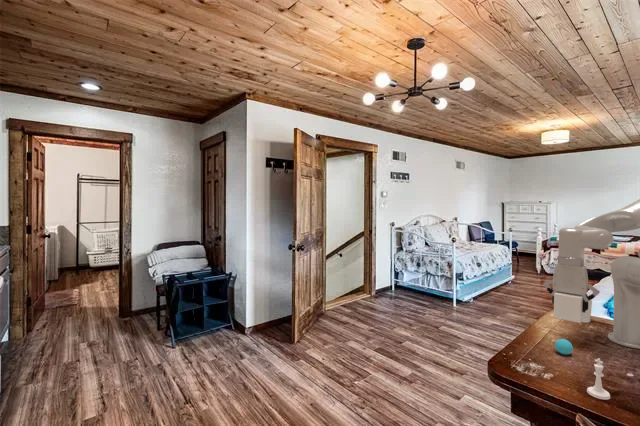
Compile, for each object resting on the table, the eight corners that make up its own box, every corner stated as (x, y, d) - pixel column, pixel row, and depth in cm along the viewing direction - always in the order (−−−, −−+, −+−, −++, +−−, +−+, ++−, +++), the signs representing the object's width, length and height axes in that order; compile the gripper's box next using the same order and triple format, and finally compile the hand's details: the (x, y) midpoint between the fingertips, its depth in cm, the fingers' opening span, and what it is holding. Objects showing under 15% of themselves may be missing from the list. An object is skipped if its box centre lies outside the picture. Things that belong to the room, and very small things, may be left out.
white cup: (596, 323, 139) (596, 300, 139) (574, 322, 141) (575, 299, 140) (585, 317, 147) (585, 295, 146) (565, 316, 148) (565, 294, 148)
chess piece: (603, 401, 87) (604, 364, 87) (582, 391, 92) (583, 356, 91) (614, 396, 89) (614, 360, 89) (593, 387, 94) (593, 352, 93)
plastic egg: (562, 349, 117) (562, 335, 116) (576, 356, 112) (576, 341, 112) (551, 351, 116) (551, 337, 115) (564, 358, 111) (564, 343, 111)
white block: (559, 310, 128) (560, 288, 128) (585, 315, 122) (585, 292, 122) (553, 317, 121) (554, 293, 121) (580, 323, 115) (581, 298, 115)
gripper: (540, 259, 125) (539, 305, 125) (600, 266, 112) (598, 317, 113) (545, 257, 130) (544, 301, 130) (603, 263, 117) (601, 312, 118)
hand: (569, 308), depth 122 cm, fingers closed on white block, 7 cm apart
